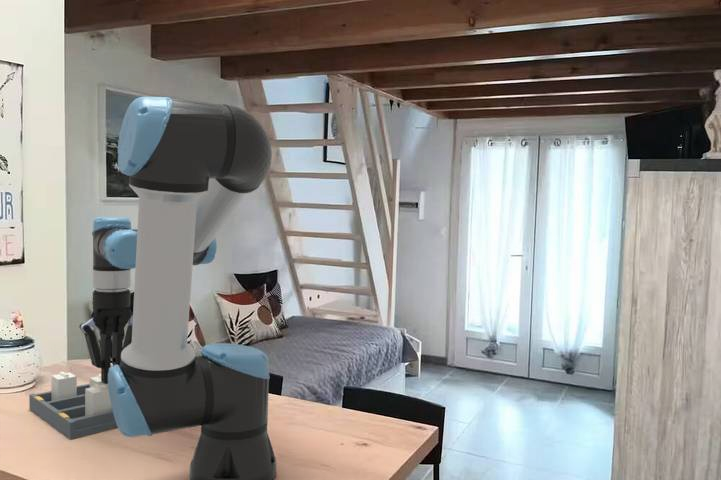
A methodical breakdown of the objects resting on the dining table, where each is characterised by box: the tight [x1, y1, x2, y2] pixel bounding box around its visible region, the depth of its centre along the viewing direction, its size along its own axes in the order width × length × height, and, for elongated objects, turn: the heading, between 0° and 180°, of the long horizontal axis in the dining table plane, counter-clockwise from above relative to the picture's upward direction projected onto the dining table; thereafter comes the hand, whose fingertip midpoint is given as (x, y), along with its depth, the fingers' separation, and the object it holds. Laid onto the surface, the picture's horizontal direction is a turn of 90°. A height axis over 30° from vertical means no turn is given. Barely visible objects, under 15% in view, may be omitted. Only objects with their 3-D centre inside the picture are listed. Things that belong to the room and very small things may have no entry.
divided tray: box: [28, 383, 118, 440], centre depth 136 cm, size 23×15×4 cm, turn 47°
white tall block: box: [89, 373, 105, 388], centre depth 139 cm, size 4×4×7 cm
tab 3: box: [50, 371, 78, 401], centre depth 139 cm, size 4×4×7 cm
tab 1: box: [85, 384, 112, 417], centre depth 131 cm, size 4×4×7 cm
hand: (111, 396), depth 133 cm, fingers closed
